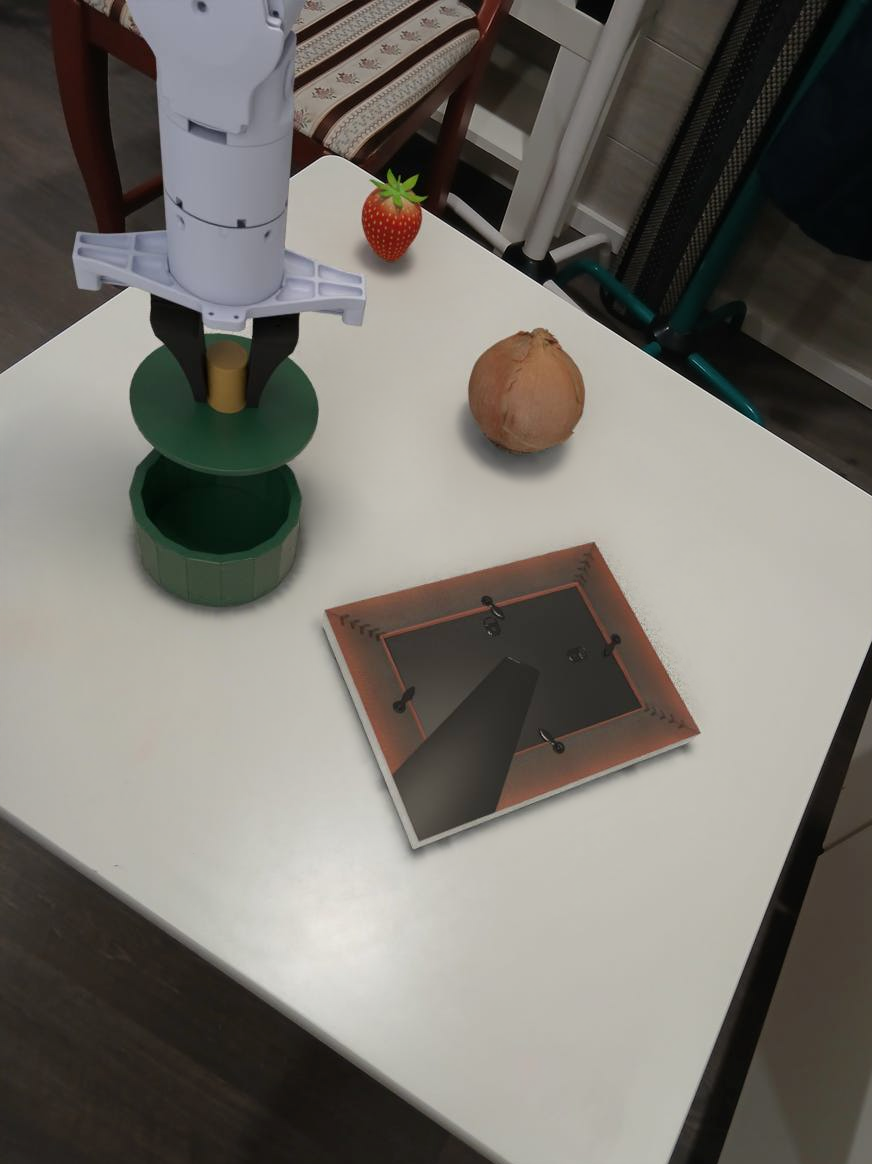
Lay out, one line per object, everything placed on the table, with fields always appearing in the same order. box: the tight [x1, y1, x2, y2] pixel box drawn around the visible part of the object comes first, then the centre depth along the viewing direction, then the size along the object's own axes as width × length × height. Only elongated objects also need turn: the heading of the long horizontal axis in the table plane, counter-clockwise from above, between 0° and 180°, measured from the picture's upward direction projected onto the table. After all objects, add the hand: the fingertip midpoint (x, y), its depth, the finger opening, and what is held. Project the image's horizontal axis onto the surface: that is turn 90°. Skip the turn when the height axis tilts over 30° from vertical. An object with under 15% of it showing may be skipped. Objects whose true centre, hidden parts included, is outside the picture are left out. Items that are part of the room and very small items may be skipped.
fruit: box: [361, 168, 429, 263], centre depth 73 cm, size 5×5×8 cm
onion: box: [467, 327, 586, 456], centre depth 67 cm, size 10×9×10 cm
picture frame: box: [321, 541, 701, 850], centre depth 58 cm, size 16×2×22 cm
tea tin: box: [128, 447, 303, 608], centre depth 56 cm, size 10×10×5 cm
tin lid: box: [128, 332, 320, 476], centre depth 51 cm, size 11×11×5 cm
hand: (226, 392), depth 52 cm, fingers closed on tin lid, 2 cm apart
